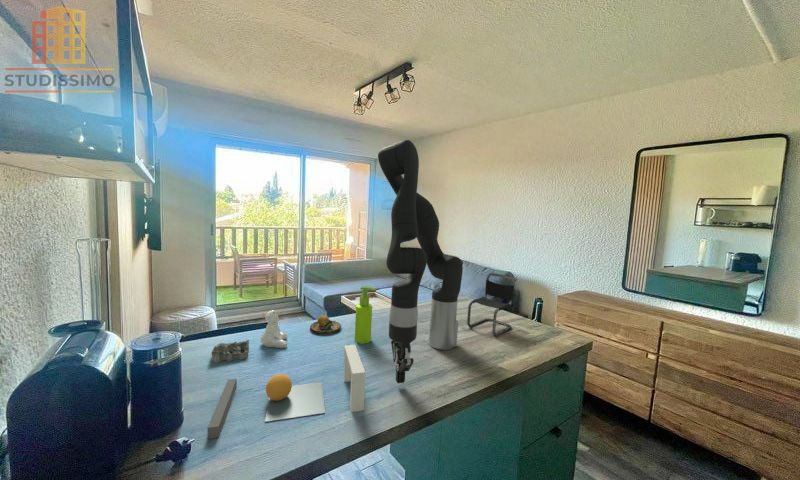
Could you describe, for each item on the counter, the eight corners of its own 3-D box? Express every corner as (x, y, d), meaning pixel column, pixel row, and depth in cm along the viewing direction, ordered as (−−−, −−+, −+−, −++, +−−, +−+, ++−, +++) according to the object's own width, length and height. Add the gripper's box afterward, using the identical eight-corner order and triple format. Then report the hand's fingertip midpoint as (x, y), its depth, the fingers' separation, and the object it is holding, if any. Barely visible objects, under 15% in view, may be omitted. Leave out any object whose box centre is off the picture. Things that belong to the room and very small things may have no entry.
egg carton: (209, 364, 91) (209, 352, 91) (214, 353, 98) (214, 341, 98) (248, 360, 95) (248, 347, 94) (250, 349, 102) (250, 338, 101)
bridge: (353, 377, 88) (355, 344, 87) (363, 410, 74) (365, 372, 73) (343, 378, 87) (344, 345, 86) (351, 412, 73) (352, 373, 72)
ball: (269, 393, 79) (294, 388, 80) (265, 408, 73) (291, 403, 74) (267, 371, 78) (291, 367, 79) (262, 385, 72) (288, 380, 74)
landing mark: (321, 382, 84) (321, 382, 84) (325, 413, 72) (325, 412, 72) (270, 388, 80) (270, 388, 80) (264, 422, 68) (264, 421, 68)
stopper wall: (236, 387, 80) (236, 378, 80) (218, 437, 63) (218, 426, 63) (228, 388, 79) (228, 379, 79) (207, 439, 62) (207, 427, 62)
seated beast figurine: (287, 348, 103) (287, 314, 102) (259, 351, 100) (259, 316, 99) (287, 337, 112) (287, 305, 111) (261, 339, 109) (261, 306, 108)
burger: (345, 332, 119) (345, 314, 118) (315, 338, 113) (315, 318, 112) (334, 322, 129) (334, 305, 128) (306, 327, 123) (306, 309, 122)
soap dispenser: (370, 344, 109) (373, 290, 107) (352, 342, 110) (354, 288, 108) (375, 338, 115) (377, 286, 113) (357, 335, 116) (359, 284, 114)
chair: (514, 327, 133) (518, 278, 130) (493, 338, 121) (498, 283, 118) (487, 319, 142) (491, 272, 140) (466, 327, 130) (469, 276, 128)
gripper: (425, 329, 77) (421, 394, 79) (408, 311, 90) (405, 367, 92) (397, 331, 75) (393, 398, 77) (383, 313, 88) (380, 370, 89)
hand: (400, 381), depth 84 cm, fingers closed
